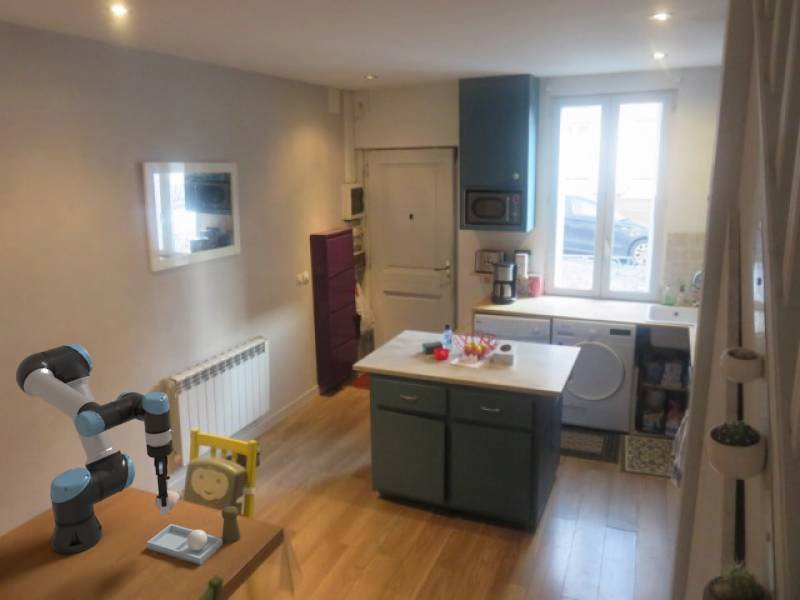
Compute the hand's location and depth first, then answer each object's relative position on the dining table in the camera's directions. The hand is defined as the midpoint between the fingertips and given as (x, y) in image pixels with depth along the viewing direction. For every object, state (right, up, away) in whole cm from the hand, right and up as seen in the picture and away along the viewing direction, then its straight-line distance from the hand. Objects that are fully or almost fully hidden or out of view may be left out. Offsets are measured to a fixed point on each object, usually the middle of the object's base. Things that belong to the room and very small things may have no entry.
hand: (165, 506), depth 199 cm
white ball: (+10, -14, +2) cm, 17 cm away
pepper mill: (+19, -14, +9) cm, 25 cm away
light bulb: (+1, -1, +2) cm, 2 cm away
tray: (+5, -15, +4) cm, 16 cm away
